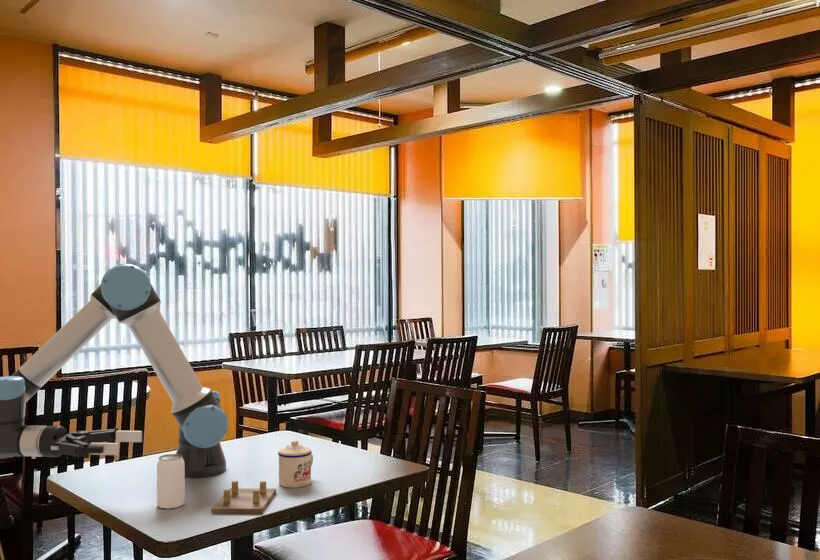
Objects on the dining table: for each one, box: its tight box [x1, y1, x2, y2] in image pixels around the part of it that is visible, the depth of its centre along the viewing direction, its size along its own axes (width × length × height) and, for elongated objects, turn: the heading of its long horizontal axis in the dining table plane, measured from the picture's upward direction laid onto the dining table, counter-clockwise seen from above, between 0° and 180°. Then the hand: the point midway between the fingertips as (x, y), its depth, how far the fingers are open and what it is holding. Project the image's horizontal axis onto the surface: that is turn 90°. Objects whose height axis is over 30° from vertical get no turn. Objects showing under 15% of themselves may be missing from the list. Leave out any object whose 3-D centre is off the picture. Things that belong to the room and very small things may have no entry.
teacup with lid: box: [277, 439, 314, 489], centre depth 191 cm, size 12×9×12 cm
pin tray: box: [211, 480, 277, 515], centre depth 174 cm, size 16×12×4 cm
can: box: [156, 453, 186, 510], centre depth 172 cm, size 6×6×12 cm
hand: (130, 442), depth 172 cm, fingers open, 13 cm apart
